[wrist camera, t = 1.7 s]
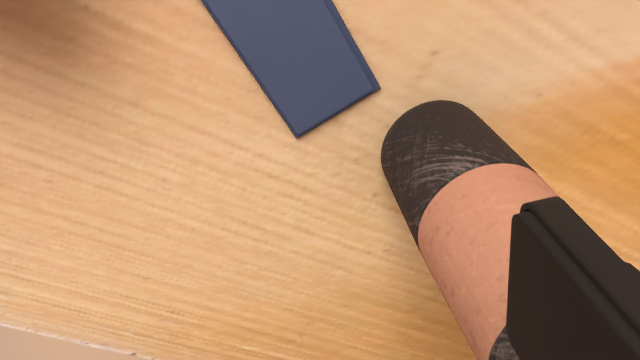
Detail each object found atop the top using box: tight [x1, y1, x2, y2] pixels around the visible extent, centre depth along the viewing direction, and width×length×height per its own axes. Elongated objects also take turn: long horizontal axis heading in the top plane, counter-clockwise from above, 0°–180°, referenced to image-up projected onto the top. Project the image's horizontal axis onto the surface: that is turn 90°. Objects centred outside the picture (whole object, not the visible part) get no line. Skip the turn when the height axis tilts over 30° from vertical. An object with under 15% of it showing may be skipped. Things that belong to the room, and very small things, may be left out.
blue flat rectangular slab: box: [201, 0, 380, 138], centre depth 34 cm, size 6×14×1 cm, turn 29°
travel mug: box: [381, 100, 559, 360], centre depth 32 cm, size 8×8×20 cm
